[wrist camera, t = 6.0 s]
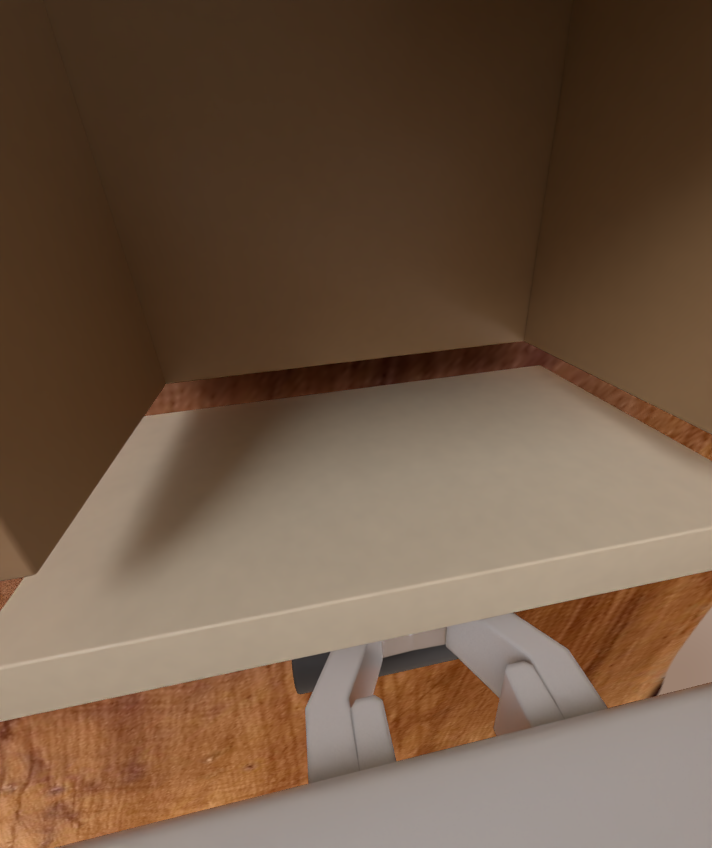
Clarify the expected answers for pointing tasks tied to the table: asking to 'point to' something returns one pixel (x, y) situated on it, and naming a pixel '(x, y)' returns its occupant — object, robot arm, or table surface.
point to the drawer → (340, 324)
